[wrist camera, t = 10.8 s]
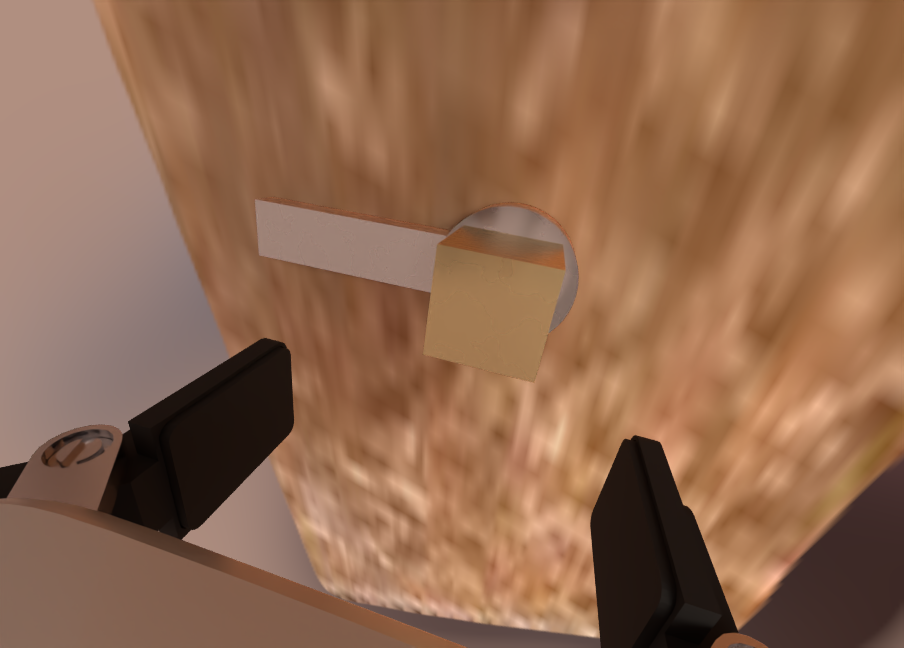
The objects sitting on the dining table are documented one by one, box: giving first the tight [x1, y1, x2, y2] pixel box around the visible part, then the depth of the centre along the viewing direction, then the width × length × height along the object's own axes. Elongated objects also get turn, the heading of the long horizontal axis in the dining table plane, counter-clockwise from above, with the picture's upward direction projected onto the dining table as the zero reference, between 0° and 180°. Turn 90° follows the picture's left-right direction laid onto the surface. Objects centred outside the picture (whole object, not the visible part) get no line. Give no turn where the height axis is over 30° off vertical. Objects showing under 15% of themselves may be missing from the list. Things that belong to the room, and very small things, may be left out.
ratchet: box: [255, 197, 579, 333], centre depth 25 cm, size 9×22×6 cm, turn 81°
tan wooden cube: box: [423, 225, 566, 383], centre depth 22 cm, size 6×6×6 cm
